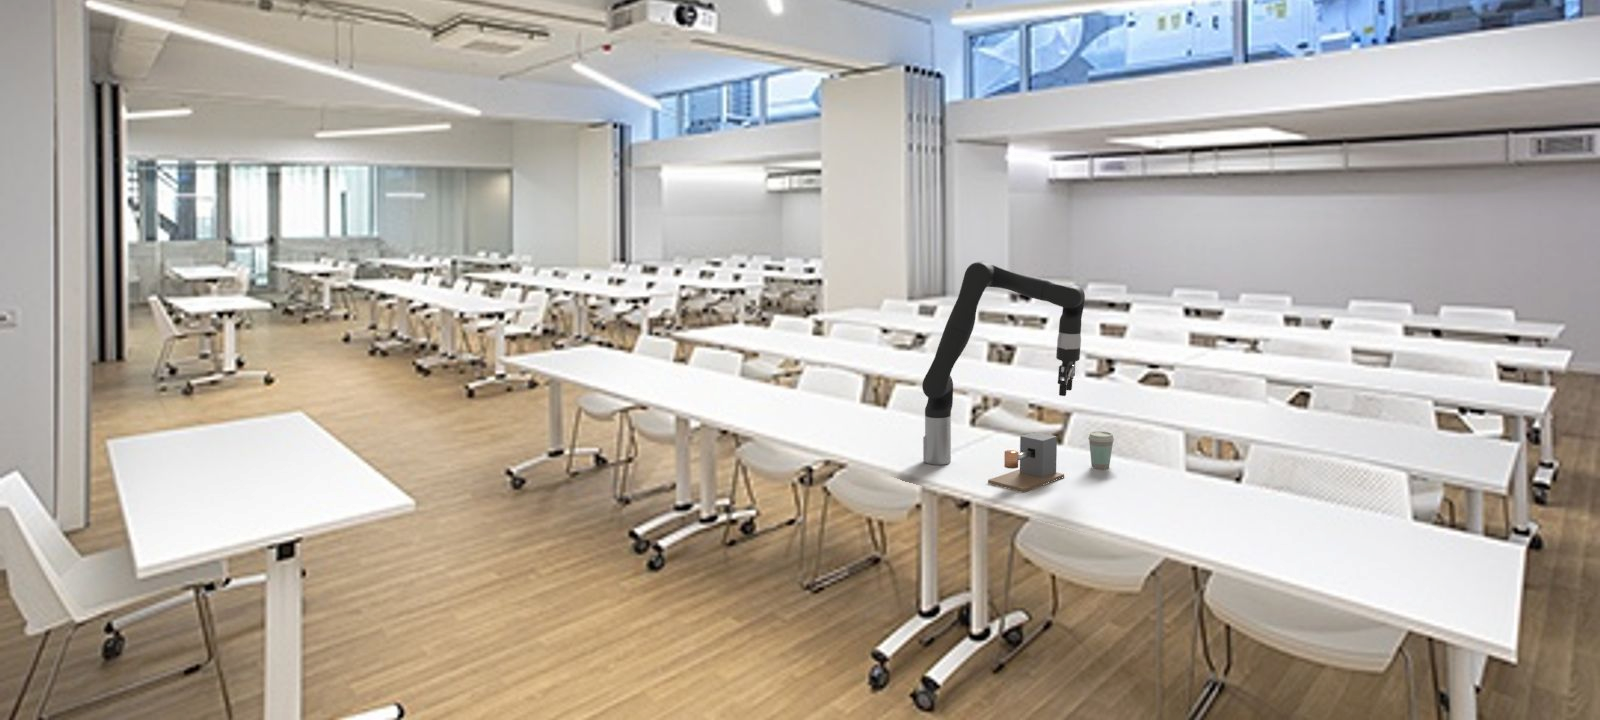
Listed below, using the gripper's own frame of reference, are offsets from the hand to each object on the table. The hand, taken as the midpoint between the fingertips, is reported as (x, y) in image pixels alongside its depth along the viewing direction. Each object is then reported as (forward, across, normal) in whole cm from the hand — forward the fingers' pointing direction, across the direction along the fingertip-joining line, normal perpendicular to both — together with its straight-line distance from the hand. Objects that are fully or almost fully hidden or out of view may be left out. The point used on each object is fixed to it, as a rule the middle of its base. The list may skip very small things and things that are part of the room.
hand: (1065, 392), depth 305 cm
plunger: (+22, +17, -10) cm, 29 cm away
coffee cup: (+28, -12, +11) cm, 33 cm away
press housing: (+28, +13, -8) cm, 32 cm away
